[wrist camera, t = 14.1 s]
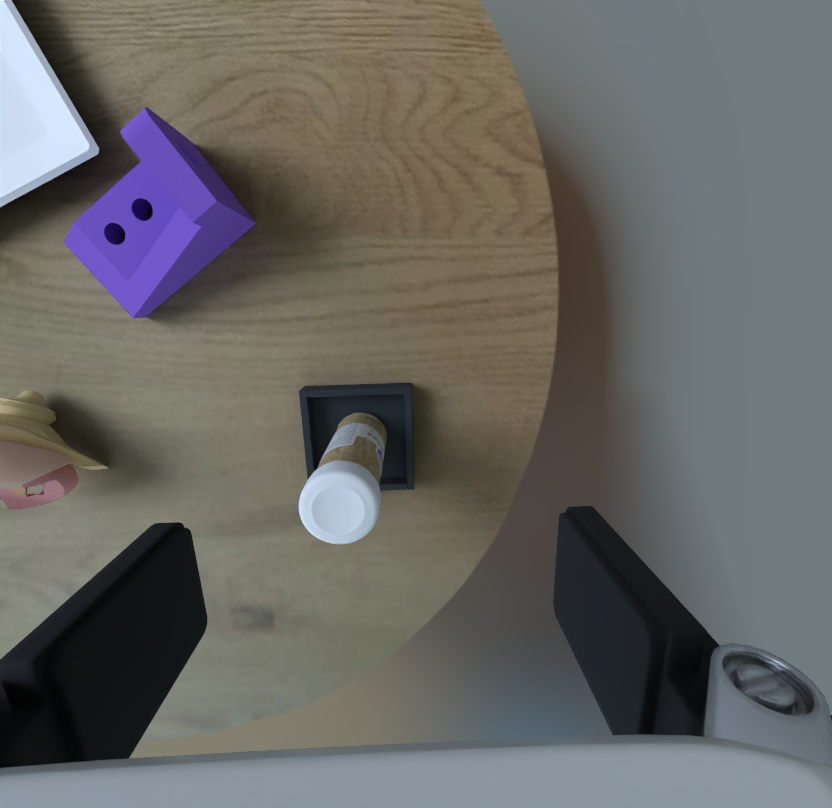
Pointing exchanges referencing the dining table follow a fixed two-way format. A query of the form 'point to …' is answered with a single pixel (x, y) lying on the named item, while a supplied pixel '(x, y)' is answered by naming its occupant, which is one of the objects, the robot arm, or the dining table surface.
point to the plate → (34, 114)
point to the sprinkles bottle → (346, 482)
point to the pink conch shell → (35, 453)
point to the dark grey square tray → (379, 400)
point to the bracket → (157, 219)
